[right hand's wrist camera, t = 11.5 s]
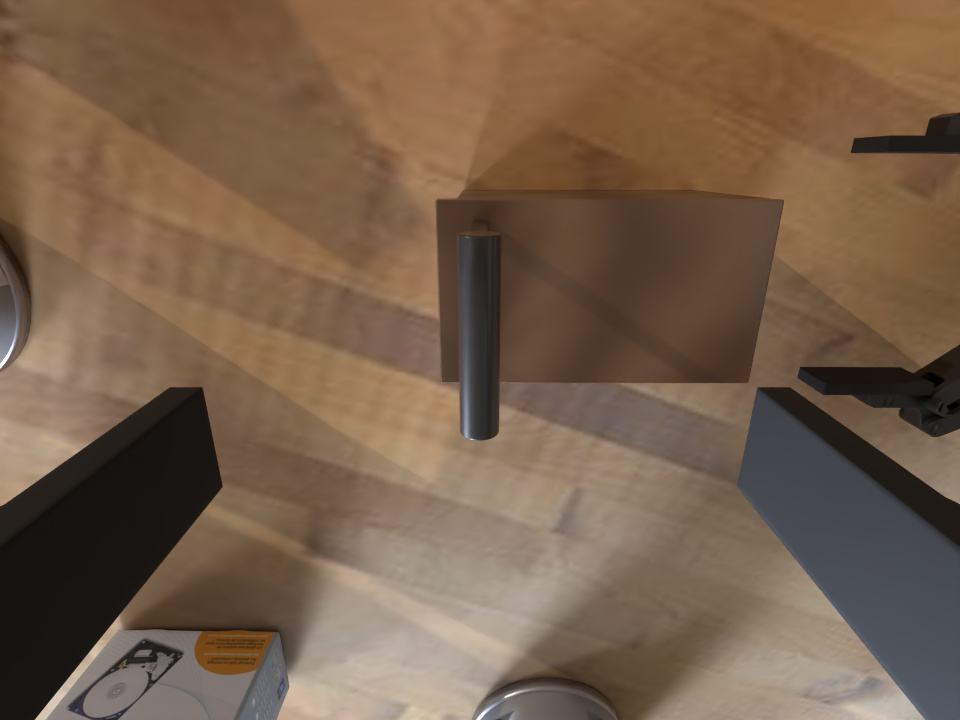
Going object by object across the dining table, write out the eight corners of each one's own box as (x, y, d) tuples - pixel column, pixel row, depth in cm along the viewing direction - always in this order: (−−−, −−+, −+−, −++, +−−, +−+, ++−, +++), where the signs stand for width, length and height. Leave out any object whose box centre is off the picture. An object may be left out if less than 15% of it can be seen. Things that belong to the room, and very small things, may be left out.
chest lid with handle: (442, 375, 28) (426, 458, 20) (437, 198, 25) (416, 213, 17) (739, 376, 28) (841, 458, 20) (772, 198, 25) (910, 213, 17)
